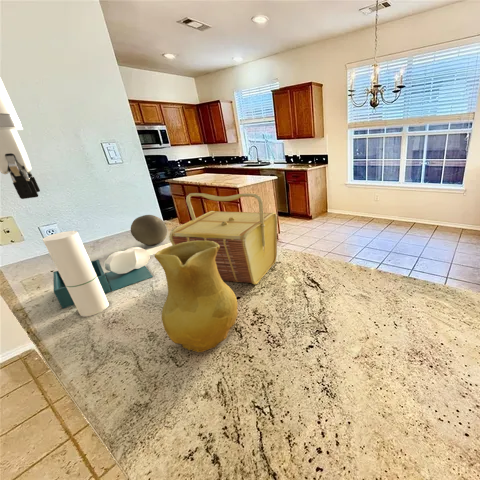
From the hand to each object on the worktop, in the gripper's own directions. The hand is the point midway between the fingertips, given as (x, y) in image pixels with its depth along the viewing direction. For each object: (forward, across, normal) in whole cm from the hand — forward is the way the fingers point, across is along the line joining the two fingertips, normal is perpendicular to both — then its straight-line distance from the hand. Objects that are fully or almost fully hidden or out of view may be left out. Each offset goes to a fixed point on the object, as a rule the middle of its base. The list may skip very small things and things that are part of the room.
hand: (31, 195), depth 69 cm
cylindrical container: (+36, +4, +2) cm, 37 cm away
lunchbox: (+36, -13, +8) cm, 39 cm away
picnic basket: (+36, +15, +45) cm, 59 cm away
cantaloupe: (+36, -41, +29) cm, 62 cm away
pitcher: (+36, +41, +24) cm, 59 cm away
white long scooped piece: (+36, -21, +27) cm, 49 cm away
